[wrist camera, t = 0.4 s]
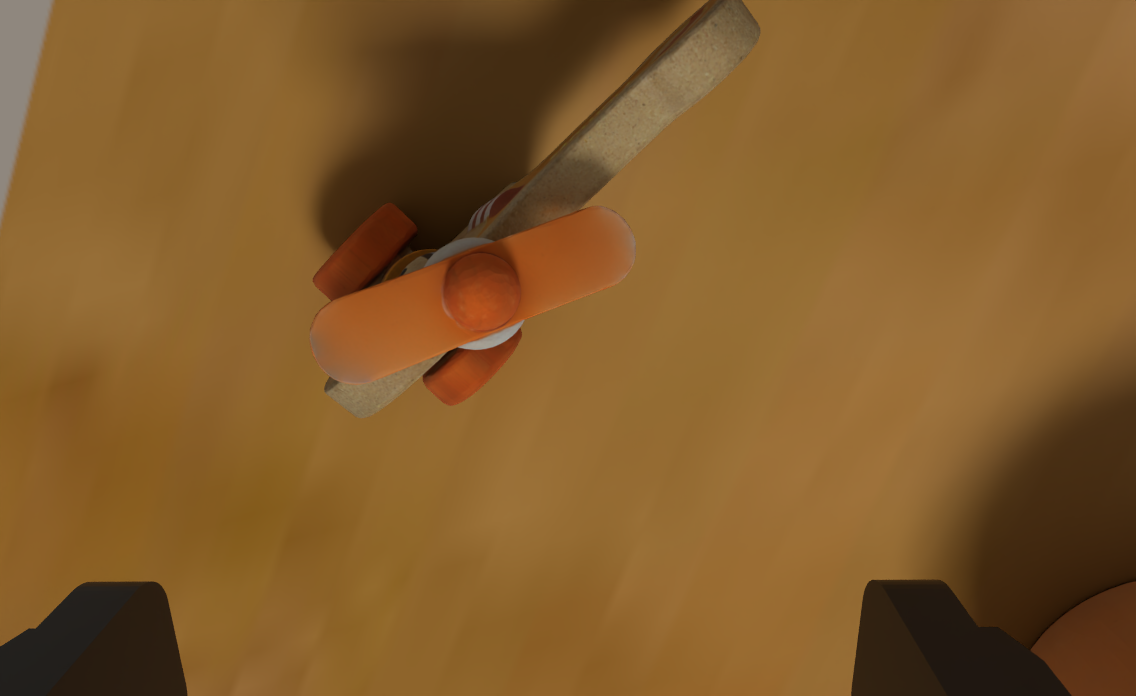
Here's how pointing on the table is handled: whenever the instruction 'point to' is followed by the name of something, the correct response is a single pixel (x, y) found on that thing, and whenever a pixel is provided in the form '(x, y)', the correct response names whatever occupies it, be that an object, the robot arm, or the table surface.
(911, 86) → the table surface
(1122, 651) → the flower pot
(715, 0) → the toy helicopter
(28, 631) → the robot arm
